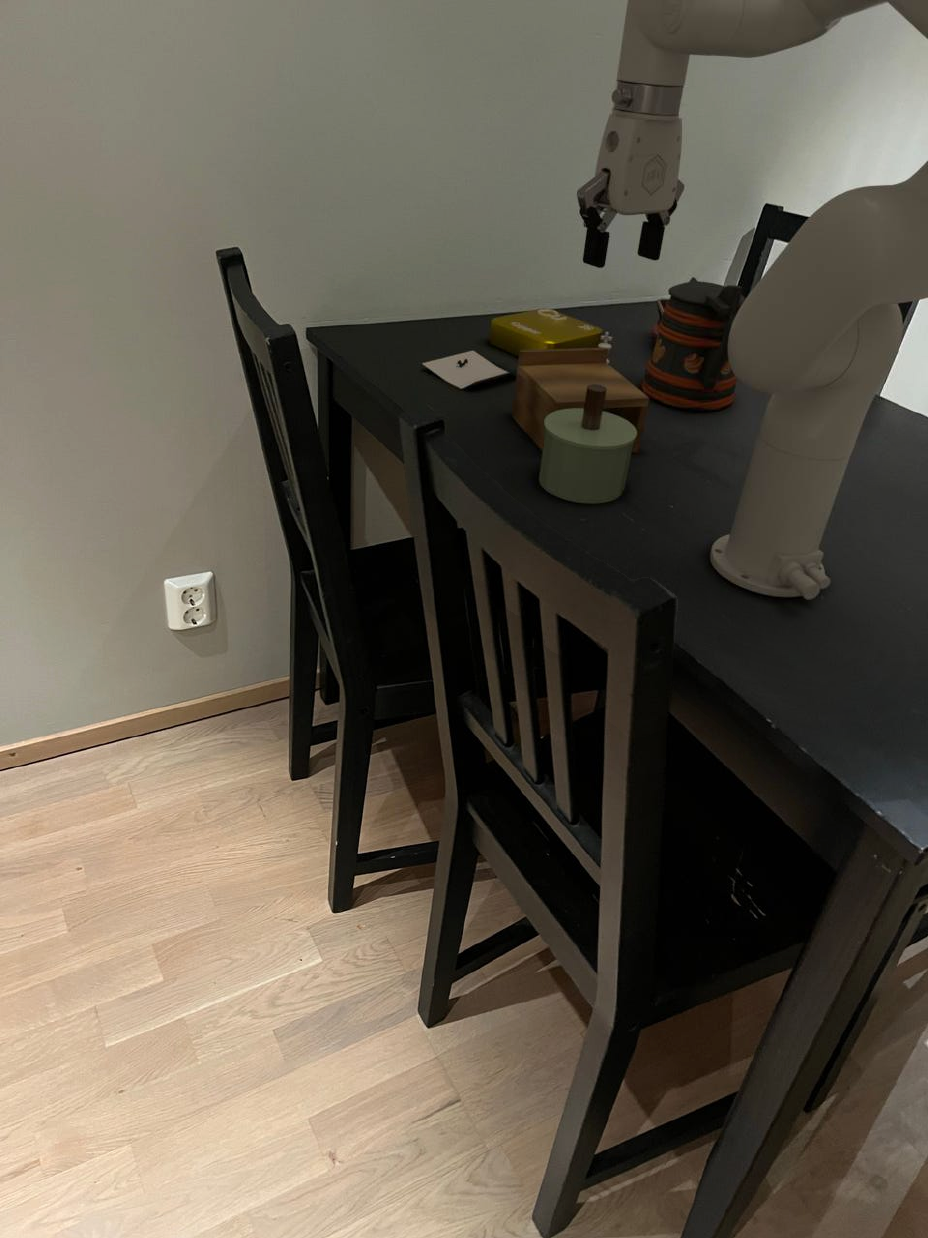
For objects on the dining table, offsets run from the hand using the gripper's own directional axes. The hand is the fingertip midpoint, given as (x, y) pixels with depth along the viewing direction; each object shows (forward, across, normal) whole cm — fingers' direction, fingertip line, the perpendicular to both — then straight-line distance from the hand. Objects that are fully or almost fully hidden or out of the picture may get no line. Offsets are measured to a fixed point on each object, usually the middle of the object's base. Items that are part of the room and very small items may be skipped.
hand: (621, 261), depth 112 cm
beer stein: (+26, +29, +6) cm, 39 cm away
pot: (+26, -8, -6) cm, 27 cm away
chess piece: (+25, +17, +15) cm, 34 cm away
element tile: (+25, +24, +36) cm, 50 cm away
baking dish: (+25, +48, +23) cm, 59 cm away
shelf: (+25, +3, +6) cm, 26 cm away
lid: (+18, -8, -6) cm, 21 cm away
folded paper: (+25, +5, +32) cm, 41 cm away
